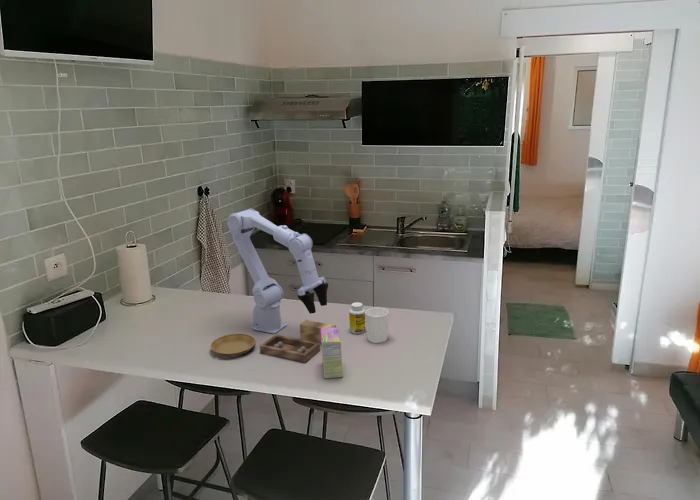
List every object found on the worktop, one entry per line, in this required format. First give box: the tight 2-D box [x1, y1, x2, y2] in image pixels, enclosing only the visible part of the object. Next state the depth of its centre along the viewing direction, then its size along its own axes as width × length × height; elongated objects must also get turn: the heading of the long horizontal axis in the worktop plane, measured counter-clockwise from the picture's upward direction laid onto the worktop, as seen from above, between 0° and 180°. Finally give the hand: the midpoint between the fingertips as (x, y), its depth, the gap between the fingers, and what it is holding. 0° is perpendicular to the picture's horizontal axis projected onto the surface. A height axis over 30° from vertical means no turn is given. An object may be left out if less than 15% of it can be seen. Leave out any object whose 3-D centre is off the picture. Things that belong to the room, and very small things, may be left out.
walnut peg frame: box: [259, 334, 321, 364], centre depth 177 cm, size 17×9×3 cm, turn 63°
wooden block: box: [299, 319, 337, 345], centre depth 184 cm, size 12×4×6 cm, turn 63°
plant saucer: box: [210, 333, 257, 358], centre depth 180 cm, size 15×15×3 cm
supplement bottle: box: [348, 302, 366, 335], centre depth 189 cm, size 6×6×10 cm
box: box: [321, 326, 343, 379], centre depth 163 cm, size 10×6×12 cm, turn 5°
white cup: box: [365, 307, 390, 344], centre depth 183 cm, size 8×8×10 cm
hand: (318, 309), depth 181 cm, fingers open, 7 cm apart
